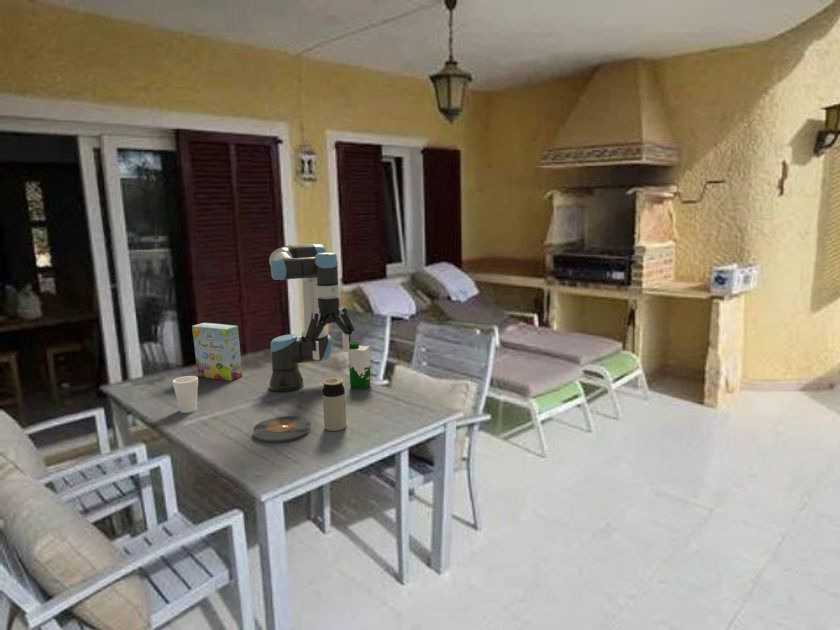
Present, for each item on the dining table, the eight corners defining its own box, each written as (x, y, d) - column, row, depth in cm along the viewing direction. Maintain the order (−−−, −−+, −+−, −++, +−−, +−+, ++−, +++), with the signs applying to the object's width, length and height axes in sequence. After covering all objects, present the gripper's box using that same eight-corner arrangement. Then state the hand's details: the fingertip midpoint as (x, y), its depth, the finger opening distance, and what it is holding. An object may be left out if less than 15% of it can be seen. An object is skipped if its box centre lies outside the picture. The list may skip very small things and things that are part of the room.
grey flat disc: (289, 417, 218) (289, 411, 217) (321, 430, 204) (320, 424, 204) (243, 432, 204) (242, 427, 203) (273, 448, 190) (273, 441, 190)
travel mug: (323, 432, 203) (320, 384, 199) (326, 423, 211) (323, 377, 207) (345, 431, 203) (342, 383, 199) (347, 422, 211) (345, 377, 207)
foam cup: (178, 416, 222) (174, 384, 219) (174, 409, 229) (170, 378, 227) (203, 410, 227) (200, 380, 224) (198, 404, 235) (195, 374, 232)
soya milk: (353, 383, 258) (351, 340, 254) (372, 383, 257) (371, 341, 253) (348, 389, 250) (345, 345, 246) (367, 389, 248) (365, 346, 244)
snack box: (196, 377, 273) (190, 325, 268) (209, 372, 281) (204, 322, 276) (231, 381, 264) (226, 328, 260) (243, 376, 272) (239, 324, 267)
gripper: (305, 302, 186) (309, 364, 190) (362, 293, 204) (364, 350, 208) (292, 300, 191) (296, 361, 195) (348, 291, 209) (351, 347, 213)
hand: (331, 355), depth 201 cm, fingers open, 13 cm apart
